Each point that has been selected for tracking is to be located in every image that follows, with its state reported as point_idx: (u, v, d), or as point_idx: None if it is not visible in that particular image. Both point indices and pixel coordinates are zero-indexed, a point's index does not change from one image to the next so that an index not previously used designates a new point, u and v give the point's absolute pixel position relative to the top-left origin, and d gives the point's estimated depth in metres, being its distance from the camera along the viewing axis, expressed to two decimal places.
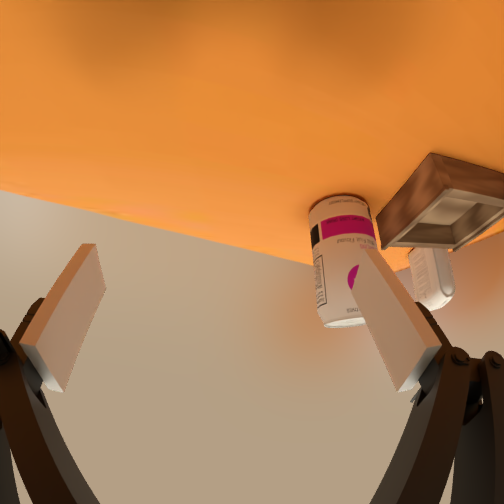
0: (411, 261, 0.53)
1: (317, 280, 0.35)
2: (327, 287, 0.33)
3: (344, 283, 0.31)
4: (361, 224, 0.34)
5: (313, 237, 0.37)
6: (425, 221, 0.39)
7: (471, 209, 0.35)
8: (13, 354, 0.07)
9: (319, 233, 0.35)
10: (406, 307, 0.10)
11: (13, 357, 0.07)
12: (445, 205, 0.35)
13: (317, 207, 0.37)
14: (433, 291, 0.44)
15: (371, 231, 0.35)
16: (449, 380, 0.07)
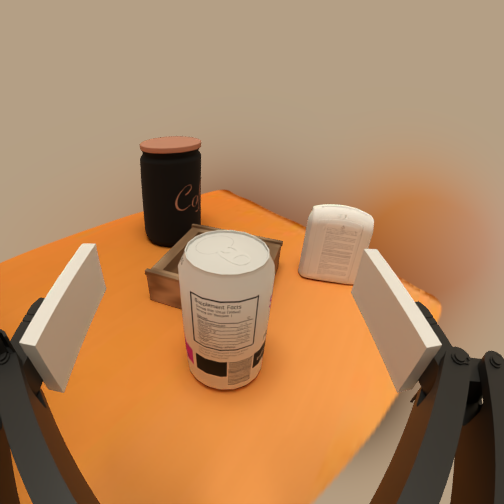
0: (351, 275, 0.46)
1: (207, 327, 0.24)
2: (188, 305, 0.24)
3: (180, 290, 0.26)
4: None
5: (208, 366, 0.27)
6: None
7: None
8: (13, 354, 0.07)
9: (194, 358, 0.28)
10: (406, 307, 0.10)
11: (13, 357, 0.07)
12: None
13: (196, 376, 0.30)
14: (325, 225, 0.42)
15: None
16: (449, 380, 0.07)
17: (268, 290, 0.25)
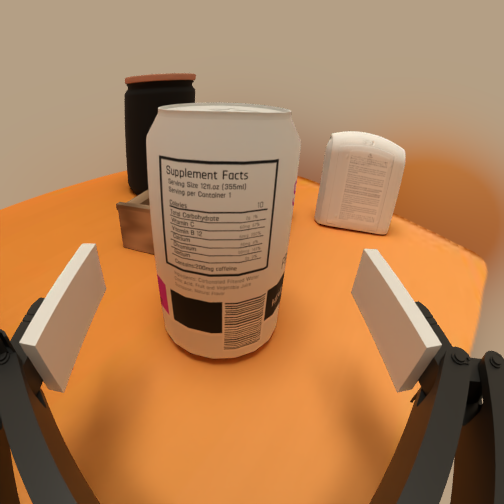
0: (381, 221, 0.35)
1: (187, 225, 0.14)
2: (156, 188, 0.14)
3: None
4: None
5: (190, 313, 0.17)
6: None
7: None
8: (13, 354, 0.07)
9: (169, 301, 0.17)
10: (406, 307, 0.10)
11: (13, 357, 0.07)
12: None
13: (174, 339, 0.19)
14: (348, 153, 0.32)
15: None
16: (449, 380, 0.07)
17: (293, 161, 0.14)
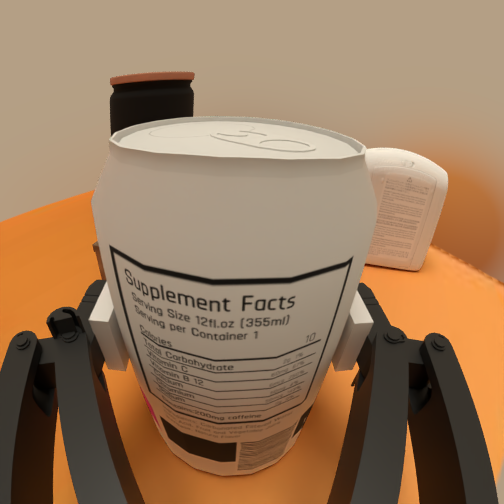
0: (416, 256, 0.29)
1: (175, 368, 0.07)
2: (116, 297, 0.07)
3: None
4: None
5: (191, 444, 0.10)
6: None
7: None
8: (82, 334, 0.08)
9: (160, 423, 0.11)
10: None
11: (82, 337, 0.08)
12: None
13: (170, 449, 0.12)
14: (383, 176, 0.25)
15: None
16: (385, 362, 0.08)
17: (368, 247, 0.07)
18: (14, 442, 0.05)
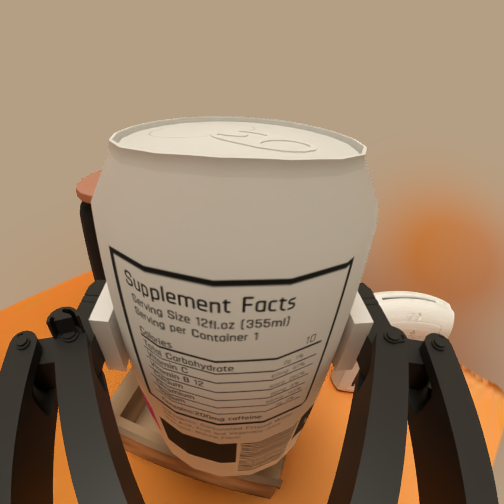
0: None
1: (175, 369, 0.07)
2: (116, 298, 0.07)
3: None
4: None
5: (191, 445, 0.10)
6: None
7: None
8: (82, 334, 0.08)
9: (160, 424, 0.11)
10: None
11: (82, 337, 0.08)
12: None
13: (170, 449, 0.12)
14: None
15: None
16: (385, 362, 0.08)
17: (369, 248, 0.07)
18: (14, 442, 0.05)
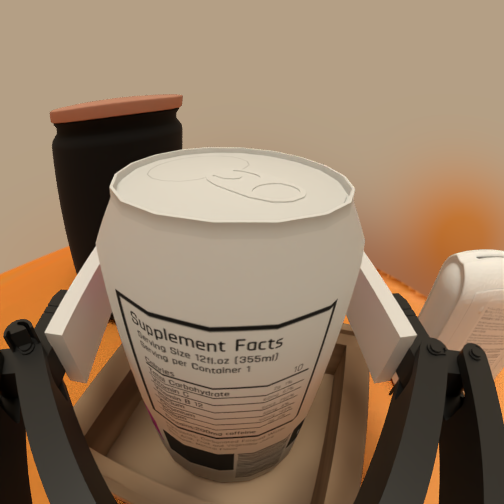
0: None
1: (178, 393, 0.08)
2: (122, 331, 0.08)
3: None
4: None
5: (192, 454, 0.11)
6: (314, 443, 0.15)
7: None
8: (38, 345, 0.08)
9: (163, 435, 0.11)
10: (382, 298, 0.11)
11: (38, 348, 0.08)
12: None
13: (172, 457, 0.13)
14: (484, 305, 0.14)
15: None
16: (426, 372, 0.08)
17: None
18: None
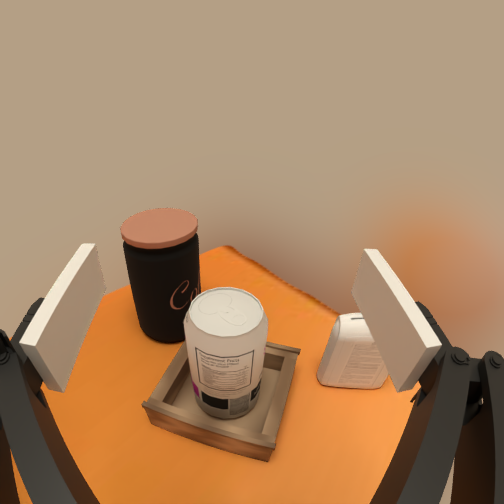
0: (376, 382, 0.37)
1: (210, 374, 0.28)
2: (194, 356, 0.28)
3: (186, 342, 0.29)
4: None
5: (212, 401, 0.30)
6: (267, 404, 0.35)
7: None
8: (13, 354, 0.07)
9: (200, 394, 0.31)
10: (406, 307, 0.10)
11: (13, 357, 0.07)
12: None
13: (201, 407, 0.33)
14: (353, 342, 0.33)
15: None
16: (449, 380, 0.07)
17: (262, 344, 0.28)
18: None
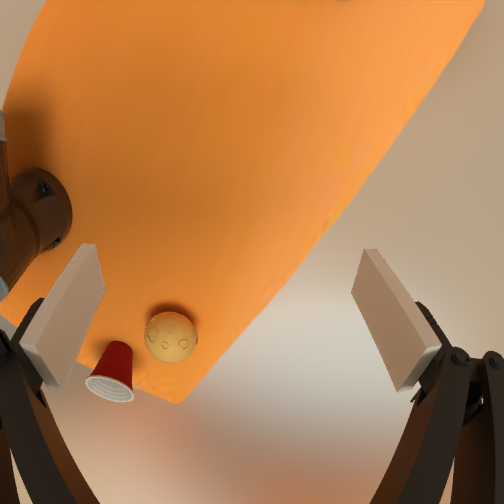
0: None
1: None
2: None
3: None
4: None
5: None
6: None
7: None
8: (13, 354, 0.07)
9: None
10: (406, 307, 0.10)
11: (13, 357, 0.07)
12: None
13: None
14: None
15: None
16: (449, 380, 0.07)
17: None
18: None
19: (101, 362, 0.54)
